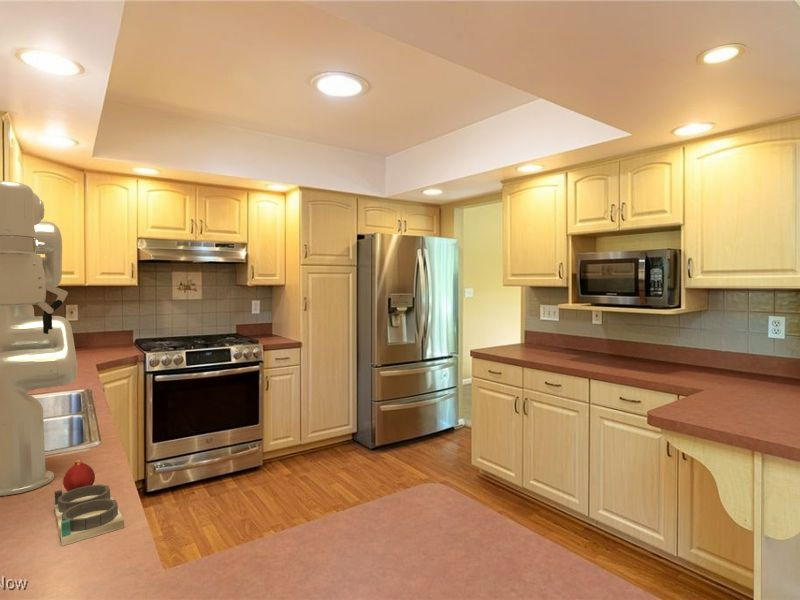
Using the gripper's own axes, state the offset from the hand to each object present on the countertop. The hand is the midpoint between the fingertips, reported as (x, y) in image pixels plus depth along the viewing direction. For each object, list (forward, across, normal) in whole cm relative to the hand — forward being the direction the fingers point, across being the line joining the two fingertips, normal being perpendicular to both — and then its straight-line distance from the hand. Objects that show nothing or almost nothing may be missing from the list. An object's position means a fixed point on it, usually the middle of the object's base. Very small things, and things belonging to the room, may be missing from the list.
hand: (15, 335), depth 92 cm
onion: (+37, -10, -7) cm, 39 cm away
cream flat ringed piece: (+37, -10, +7) cm, 39 cm away
